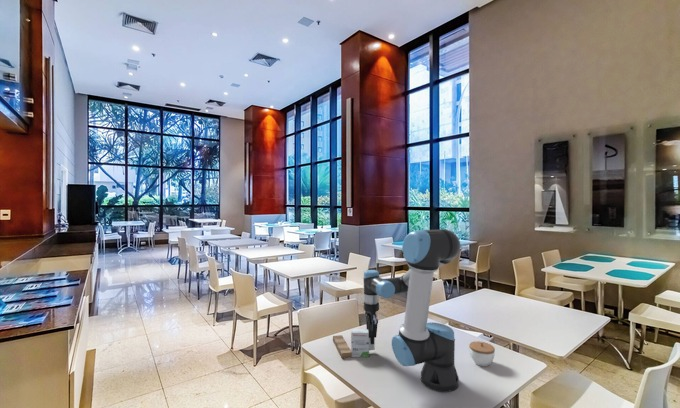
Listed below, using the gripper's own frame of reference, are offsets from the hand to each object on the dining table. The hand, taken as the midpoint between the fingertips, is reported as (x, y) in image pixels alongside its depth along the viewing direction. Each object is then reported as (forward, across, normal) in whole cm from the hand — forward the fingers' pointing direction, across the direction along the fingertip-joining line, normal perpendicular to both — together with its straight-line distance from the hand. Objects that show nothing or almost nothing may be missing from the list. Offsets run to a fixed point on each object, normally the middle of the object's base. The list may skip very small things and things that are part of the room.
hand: (371, 349), depth 158 cm
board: (+1, +7, +13) cm, 15 cm away
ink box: (+2, -1, +6) cm, 6 cm away
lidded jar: (+2, -21, -46) cm, 51 cm away
